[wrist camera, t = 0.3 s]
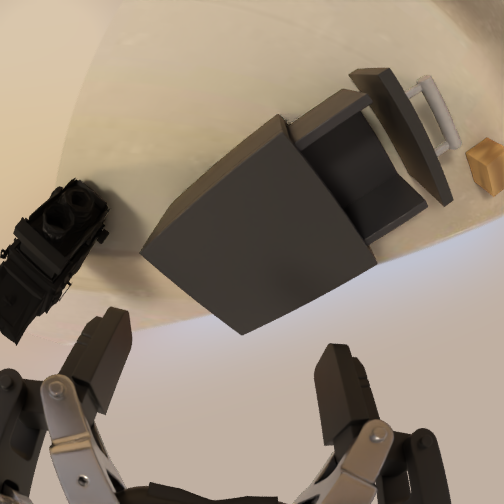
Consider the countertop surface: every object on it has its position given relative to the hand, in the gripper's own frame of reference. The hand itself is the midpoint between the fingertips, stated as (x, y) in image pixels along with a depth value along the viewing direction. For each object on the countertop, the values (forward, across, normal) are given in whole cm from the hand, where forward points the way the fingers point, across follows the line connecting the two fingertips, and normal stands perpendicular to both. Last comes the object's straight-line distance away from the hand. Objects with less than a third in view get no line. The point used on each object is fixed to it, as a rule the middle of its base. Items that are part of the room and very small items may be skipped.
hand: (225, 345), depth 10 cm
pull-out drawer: (+20, -10, -7) cm, 23 cm away
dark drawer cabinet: (+22, -2, +2) cm, 22 cm away
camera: (+24, +21, +7) cm, 33 cm away
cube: (+20, -28, -12) cm, 36 cm away
